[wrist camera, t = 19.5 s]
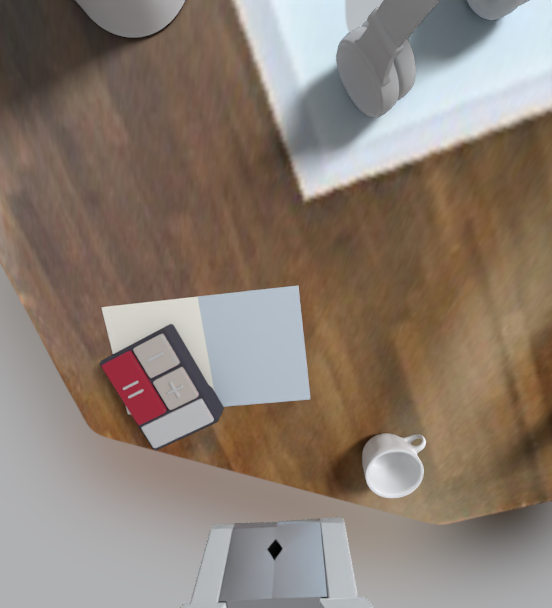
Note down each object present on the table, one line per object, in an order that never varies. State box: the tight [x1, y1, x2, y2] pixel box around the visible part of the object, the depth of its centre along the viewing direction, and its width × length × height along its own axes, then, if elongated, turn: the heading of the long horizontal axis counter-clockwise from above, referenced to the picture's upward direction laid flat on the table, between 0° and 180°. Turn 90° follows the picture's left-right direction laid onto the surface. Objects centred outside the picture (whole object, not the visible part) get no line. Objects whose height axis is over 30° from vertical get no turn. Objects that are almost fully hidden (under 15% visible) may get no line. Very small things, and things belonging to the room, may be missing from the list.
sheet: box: [101, 286, 310, 415], centre depth 46 cm, size 17×28×1 cm, turn 97°
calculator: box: [100, 324, 224, 450], centre depth 46 cm, size 11×4×15 cm
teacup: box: [362, 433, 426, 498], centre depth 46 cm, size 10×8×5 cm
